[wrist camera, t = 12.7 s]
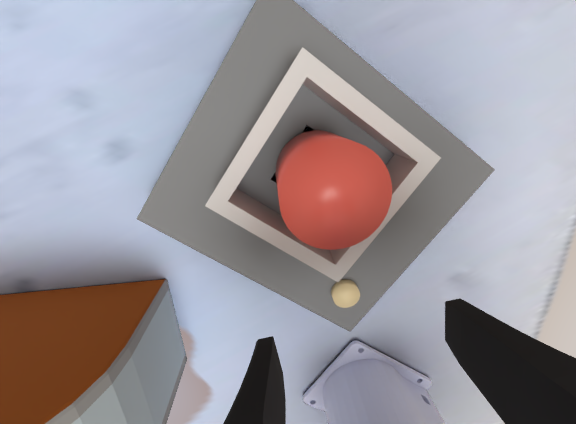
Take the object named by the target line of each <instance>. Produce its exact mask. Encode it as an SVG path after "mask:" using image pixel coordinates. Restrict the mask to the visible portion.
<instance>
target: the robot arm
mask: <svg viewBox="0 0 576 424" xmlns="http://www.w3.org/2000/svg"><path fill="white" fill-rule="evenodd" d="M445 340H446V342H447V344H448V346H449V347H450V349H451V351H452V352H453V354H454V356H455V357H456V359H457V361H458V362H459V364H460V365H461V367H462V368H463V369H464V371H465V372H466V373H467V375H468V376H469V377H470V378H471V380H472V381H473V382H474V384H475V385H476V386H477V388H478V389H479V390H480V392H481V393H482V394H483V395H484V397H485V398H486V399H487V401H488V402H489V403H490V404H491V406H492V407H493V408H494V410H495V411H496V412H497V414H498V415H499V416H500V417H501V419H502V420H503V421H504V423H505V424H576V358H574V357H572V356H569V355H567V354H565V353H563V352H560V351H558V350H556V349H554V348H552V347H550V346H548V345H546V344H544V343H542V342H540V341H538V340H536V339H534V338H532V337H530V336H528V335H526V334H524V333H522V332H520V331H518V330H516V329H514V328H513V327H511V326H509V325H507V324H505V323H503V322H502V321H500V320H498V319H496V318H494V317H493V316H491V315H489V314H487V313H485V312H484V311H482V310H480V309H478V308H476V307H475V306H473V305H471V304H469V303H467V302H466V301H464V300H462V299H456V300H451V301H446V302H445ZM360 348H361V349H360ZM432 384H433V383H432V381H431V379H430V378H428V377H427V376H425V375H423V374H421V373H419V372H417V371H415V370H413V369H411V368H409V367H407V366H405V365H404V364H402V363H400V362H398V361H396V360H394V359H392V358H390V357H388V356H386V355H384V354H383V353H381V352H379V351H377V350H375V349H373V348H371V347H369V346H367V345H365V344H363V343H361V342H360V341H352V342H351V343H350V344H349V345H348V346H347V347H346V348H345V350H344V351H343V352H342V353H341V354H340V355H339V356H338V357H337V358H336V359H335V361H334V362H333V363H332V364H331V365H330V366H329V367H328V368H327V369H326V371H325V372H324V373H323V374H322V375H321V376H320V377H319V378H318V379H317V380H316V382H315V383H314V384H313V385H312V386H311V387H310V388H309V389H308V390H307V392H306V393H305V394H304V395H303V402H304V403H305V404H308V405H310V406H312V407H315V408H317V409H319V410H322V411H324V412H326V415H327V421H328V424H445V422H444V420H443V419H442V417H441V415H440V413H439V412H438V410H437V408H436V406H435V404H434V403H433V401H432V399H431V397H430V396H429V394H428V392H427V390H428V389H429V388H430V387H431V386H432ZM224 424H285V390H284V380H283V372H282V368H281V364H280V360H279V357H278V353H277V349H276V345H275V342H274V338H273V337H268V338H263V339H258V341H257V342H256V346H255V349H254V352H253V356H252V358H251V361H250V364H249V367H248V370H247V372H246V375H245V377H244V380H243V382H242V385H241V387H240V390H239V392H238V394H237V396H236V399H235V401H234V403H233V405H232V407H231V409H230V412H229V414H228V416H227V418H226V420H225V422H224Z"/></svg>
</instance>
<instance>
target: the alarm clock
mask: <svg viewBox="0 0 576 424" xmlns="http://www.w3.org/2000/svg"><path fill="white" fill-rule="evenodd" d="M186 361H187V357H186V353H185V349H184V345H183V341H182V337H181V333H180V329H179V325H178V321H177V317H176V313H175V309H174V305H173V301H172V297H171V293H170V289H169V285H168V281H167V280H166V279H161V280H151V281H140V282H130V283H120V284H109V285H99V286H88V287H78V288H68V289H57V290H47V291H37V292H26V293H16V294H5V295H0V424H166V423H167V420H168V417H169V414H170V410H171V407H172V404H173V401H174V398H175V395H176V392H177V389H178V385H179V382H180V379H181V376H182V373H183V370H184V367H185V364H186Z"/></svg>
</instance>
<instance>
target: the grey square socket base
mask: <svg viewBox="0 0 576 424" xmlns="http://www.w3.org/2000/svg"><path fill="white" fill-rule="evenodd" d="M306 126H307V127H308V128H310V129H311V130H312V131H313V130H321V131H327V132H330V133H333V134H336V135H338V136H341V137H344V138H347V139H349V140H352V141H355V142H357V143H360V144H362V145H364V146H366V147H368V148H369V149H371V150H372V151H374V152H375V153H376V154H377V155H378V156H379V157H380V158H381V159H382V161H383V162H384V164H385V165H386V167H387V169H388V172H389V174H390V178H391V183H392V199H391V204H390V207H389V210H388V213H387V215H386V217H385V219H384V220H383V222H382V223H381V225H380V226H379V227H378V228H377V229H376V231H375V232H374V233H372V234H371V235H370V236H369V237H368V238H366V239H365V240H363V241H361V242H360V243H358V244H356V245H353V246H350V247H347V248H343V249H336V250H327V249H320V248H315V247H313V246H310V245H308V244H306V243H304V242H302V241H301V240H299V239H298V238H297V237H296V236H295V235H293V234H292V232H291V231H290V230H289V229H288V227H287V226H286V224H285V222H284V220H283V218H282V215H281V211H280V206H279V198H278V190H277V182H276V173H275V172H276V163H277V159H278V157H279V154H280V152H281V151H282V149H283V148H284V146H285V145H286V144H287V143H288V142H289V141H290V140H291V139H293V138H294V137H296V136H297V135H299V134H301V133H302V132H303V130H304V129H305V127H306ZM494 170H495V169H493V168H492V167H491V166H490V165H489V164H487V163H486V162H485V161H484V160H483V159H482V158H480V157H479V156H478V155H477V154H476V153H474V152H473V151H472V150H471V149H470V148H468V147H467V146H466V145H465V144H464V143H462V142H461V141H460V140H459V139H458V138H457V137H455V136H454V135H453V134H452V133H451V132H449V131H448V130H447V129H446V128H445V127H443V126H442V125H441V124H440V123H439V122H437V121H436V120H435V119H434V118H433V117H432V116H430V115H429V114H428V113H427V112H426V111H424V110H423V109H422V108H421V107H420V106H418V105H417V104H416V103H415V102H414V101H412V100H411V99H410V98H409V97H408V96H406V95H405V94H404V93H403V92H402V91H401V90H399V89H398V88H397V87H396V86H395V85H393V84H392V83H391V82H390V81H389V80H387V79H386V78H385V77H384V76H383V75H381V74H380V73H379V72H378V71H377V70H376V69H374V68H373V67H372V66H371V65H370V64H368V63H367V62H366V61H365V60H364V59H362V58H361V57H360V56H359V55H358V54H356V53H355V52H354V51H353V50H352V49H351V48H349V47H348V46H347V45H346V44H345V43H343V42H342V41H341V40H340V39H339V38H337V37H336V36H335V35H334V34H333V33H331V32H330V31H329V30H328V29H327V28H325V27H324V26H323V25H322V24H321V23H320V22H318V21H317V20H316V19H315V18H314V17H312V16H311V15H310V14H309V13H308V12H306V11H305V10H304V9H303V8H302V7H300V6H299V5H298V4H297V3H296V2H295V1H293V0H256V2H255V4H254V6H253V8H252V9H251V11H250V13H249V15H248V17H247V19H246V20H245V22H244V24H243V26H242V28H241V30H240V31H239V33H238V35H237V37H236V39H235V40H234V42H233V44H232V46H231V48H230V50H229V51H228V53H227V55H226V57H225V59H224V60H223V62H222V64H221V66H220V68H219V70H218V71H217V73H216V75H215V77H214V79H213V81H212V82H211V84H210V86H209V88H208V90H207V91H206V93H205V95H204V97H203V99H202V101H201V102H200V104H199V106H198V108H197V110H196V112H195V113H194V115H193V117H192V119H191V121H190V122H189V124H188V126H187V128H186V130H185V132H184V133H183V135H182V137H181V139H180V141H179V143H178V144H177V146H176V148H175V150H174V152H173V153H172V155H171V157H170V159H169V161H168V163H167V164H166V166H165V168H164V170H163V172H162V174H161V175H160V177H159V179H158V181H157V183H156V184H155V186H154V188H153V190H152V192H151V194H150V195H149V197H148V199H147V201H146V203H145V204H144V206H143V208H142V210H141V212H140V214H139V215H138V217H137V219H138V220H140V221H141V222H143V223H145V224H147V225H149V226H151V227H153V228H155V229H157V230H158V231H160V232H162V233H164V234H166V235H168V236H170V237H172V238H174V239H176V240H177V241H179V242H181V243H183V244H185V245H187V246H189V247H191V248H193V249H194V250H196V251H198V252H200V253H202V254H204V255H206V256H208V257H210V258H211V259H213V260H215V261H217V262H219V263H221V264H223V265H225V266H227V267H229V268H230V269H232V270H234V271H236V272H238V273H240V274H242V275H244V276H246V277H247V278H249V279H251V280H253V281H255V282H257V283H259V284H261V285H263V286H265V287H266V288H268V289H270V290H272V291H274V292H276V293H278V294H280V295H282V296H283V297H285V298H287V299H289V300H291V301H293V302H295V303H297V304H299V305H300V306H302V307H304V308H306V309H308V310H310V311H312V312H314V313H316V314H318V315H319V316H321V317H323V318H325V319H327V320H329V321H331V322H333V323H335V324H336V325H338V326H340V327H342V328H344V329H346V330H348V331H351V330H352V329H353V328H354V327H355V326H356V325H357V324H358V322H359V321H360V320H361V319H362V318H363V317H364V316H365V315H366V314H367V312H368V311H369V310H370V309H371V308H372V307H373V306H374V305H375V303H376V302H377V301H378V300H379V299H380V298H381V297H382V296H383V294H384V293H385V292H386V291H387V290H388V289H389V288H390V287H391V285H392V284H393V283H394V282H395V281H396V280H397V279H398V278H399V277H400V275H401V274H402V273H403V272H404V271H405V270H406V269H407V268H408V266H409V265H410V264H411V263H412V262H413V261H414V260H415V259H416V257H417V256H418V255H419V254H420V253H421V252H422V251H423V250H424V248H425V247H426V246H427V245H428V244H429V243H430V242H431V241H432V240H433V238H434V237H435V236H436V235H437V234H438V233H439V232H440V231H441V229H442V228H443V227H444V226H445V225H446V224H447V223H448V222H449V220H450V219H451V218H452V217H453V216H454V215H455V214H456V213H457V211H458V210H459V209H460V208H461V207H462V206H463V205H464V204H465V203H466V201H467V200H468V199H469V198H470V197H471V196H472V195H473V194H474V192H475V191H476V190H477V189H478V188H479V187H480V186H481V185H482V183H483V182H484V181H485V180H486V179H487V178H488V177H489V176H490V174H491V173H492V172H493V171H494Z"/></svg>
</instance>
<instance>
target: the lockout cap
mask: <svg viewBox="0 0 576 424" xmlns="http://www.w3.org/2000/svg"><path fill="white" fill-rule="evenodd" d="M276 182H277V190H278V198H279V206H280V211H281V215H282V218H283V220H284V222H285V224H286V226H287V227H288V229H289V230H290V231H291V232H292V234H293V235H295V236H296V237H297V238H298V239H299V240H301V241H302V242H304V243H306V244H308V245H310V246H313V247H315V248H320V249H327V250H336V249H343V248H347V247H350V246H353V245H356V244H358V243H360V242H361V241H363V240H365V239H366V238H368V237H369V236H370V235H371V234H372V233H374V232H375V231H376V229H377V228H378V227H379V226H380V225H381V223H382V222H383V220H384V219H385V217H386V215H387V213H388V210H389V207H390V204H391V199H392V183H391V178H390V174H389V172H388V169H387V167H386V165H385V164H384V162H383V161H382V159H381V158H380V157H379V156H378V155H377V154H376V153H375V152H374V151H372V150H371V149H369V148H368V147H366V146H364V145H362V144H360V143H357V142H355V141H352V140H349V139H347V138H344V137H341V136H338V135H336V134H333V133H330V132H327V131H321V130H313V131H307V132H304V133H301V134H299V135H297V136H296V137H294V138H293V139H291V140H290V141H289V142H288V143H287V144H286V145H285V146H284V148H283V149H282V151H281V152H280V154H279V157H278V159H277V163H276Z"/></svg>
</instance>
